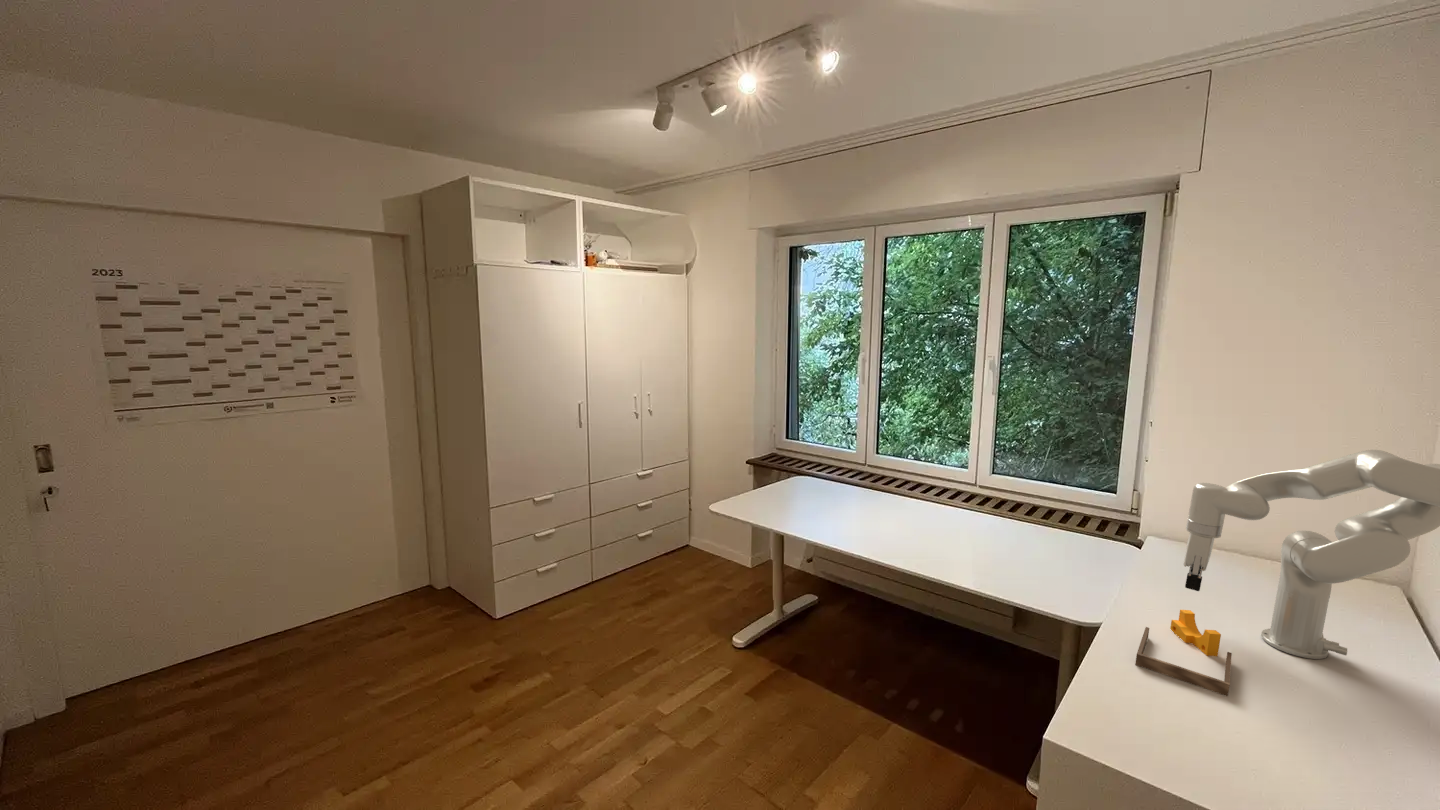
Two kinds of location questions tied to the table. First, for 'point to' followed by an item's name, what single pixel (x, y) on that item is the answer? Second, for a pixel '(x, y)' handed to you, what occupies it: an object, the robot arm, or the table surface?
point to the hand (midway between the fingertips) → (1192, 588)
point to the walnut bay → (1184, 670)
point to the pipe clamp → (1196, 633)
